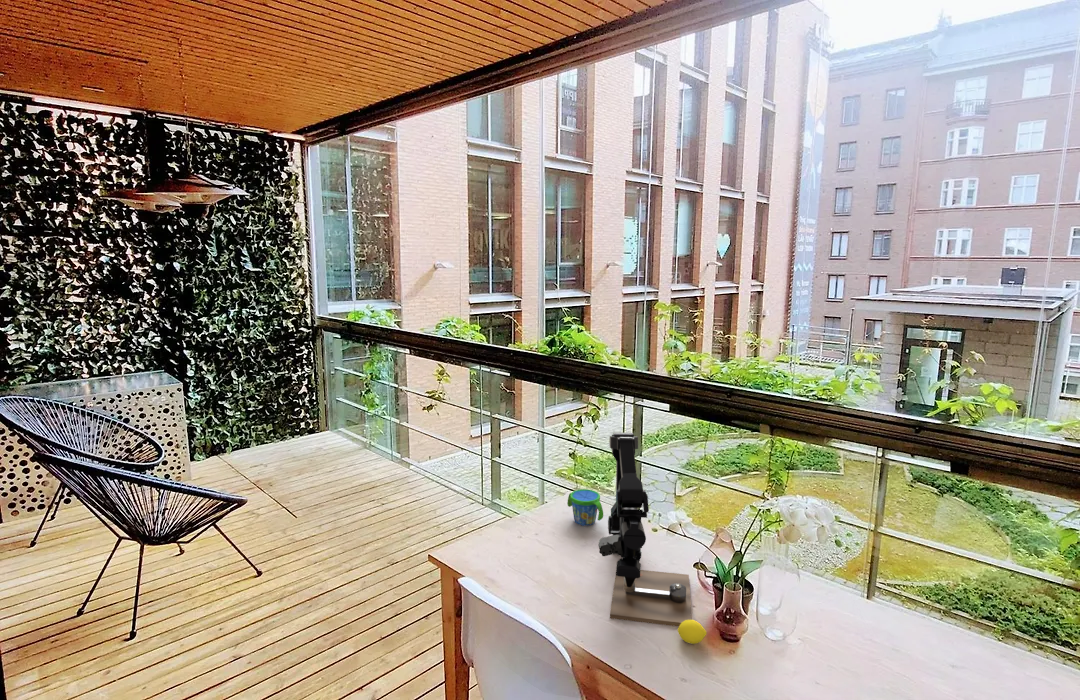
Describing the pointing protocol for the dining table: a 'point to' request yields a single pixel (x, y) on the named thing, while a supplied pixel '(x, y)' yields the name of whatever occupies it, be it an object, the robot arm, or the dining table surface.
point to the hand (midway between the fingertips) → (629, 583)
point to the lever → (659, 592)
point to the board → (651, 600)
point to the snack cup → (585, 506)
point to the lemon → (691, 631)
